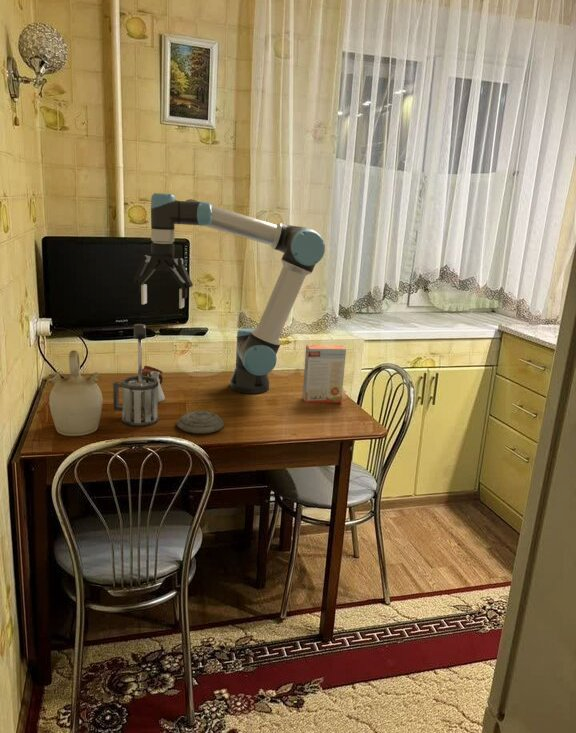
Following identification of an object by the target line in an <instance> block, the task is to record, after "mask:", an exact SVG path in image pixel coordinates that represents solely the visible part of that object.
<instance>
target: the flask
mask: <svg viewBox="0 0 576 733" xmlns="http://www.w3.org/2000/svg"><path fill="white" fill-rule="evenodd" d="M150 375H151V377H153V378H156V379H157V381H158V403H161V402H163V401H165V400H166V396H165V394H164V392H163V389H162V385H161V383H160V379H159V372H151V373H150Z"/></svg>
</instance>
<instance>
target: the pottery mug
mask: <svg viewBox="0 0 576 733" xmlns="http://www.w3.org/2000/svg"><path fill="white" fill-rule="evenodd" d="M151 372H159V383H160V384H162V383H163V381H164V379H163V378H164V377H163V370H160V369H159V368H156V367H153V366H150V365H144V366H143V367H142V376H149V377H151V375H150V373H151ZM137 382H138V380H136V383H137ZM146 383H148V381H147V380H146Z"/></svg>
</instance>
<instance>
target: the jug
mask: <svg viewBox="0 0 576 733" xmlns="http://www.w3.org/2000/svg"><path fill="white" fill-rule="evenodd" d="M68 365H69V372H70V373H69V374H70V375H69V376H67V377H65V378H62V376H61V372H59V371H57V372H54V373H53V374H52V375H51V376H50V377H48V381H49V382H52V383H53V384H54V385H53V387H52V388H51V391H50V393H49V400H48V401H49V403H48V404H49V409H50V414H51V417H52V421H53V423H54V427H55V431H57V433H58V434H59V435H63V436H65V437H66V436H67V437H79V436H81V437H82V436H85V435H90V434H92V433H95V432H96V431H97V430H98V428H99V424H100V419H101V415H102V408H103V394H102V391H101V389H100V387H99V385H98V384H97V382H98V381H99V372H94V373H92V374H89V377H85V376H82V375H81V364H80V355H79V352H78V351H77V350H70V352H69V354H68Z"/></svg>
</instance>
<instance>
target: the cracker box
mask: <svg viewBox="0 0 576 733" xmlns="http://www.w3.org/2000/svg"><path fill="white" fill-rule="evenodd" d="M346 354H347V349H346V347H344V346H343V345H342V344H341V345H337V344H336V345H334V344H333V345H332V344H331V345H330V344H328V345H327V344H326V345H325V344H323V345H321V344H306V345H305V356H304V358H305V359H304V370H303V371H304V372H303V385H302V386H303V387H302V389H303V390H302V399H303V401H304V403H305V404H308V403H309V404H310V403H314V404H315V403H319V404H320V403H324V404H325V403H328V404H329V403H330V404H331V403H335V404H336V403H337V404H338V403H339V404H340V403H342V401H343V386H344V376H345V366H346V357H347V356H346Z"/></svg>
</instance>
